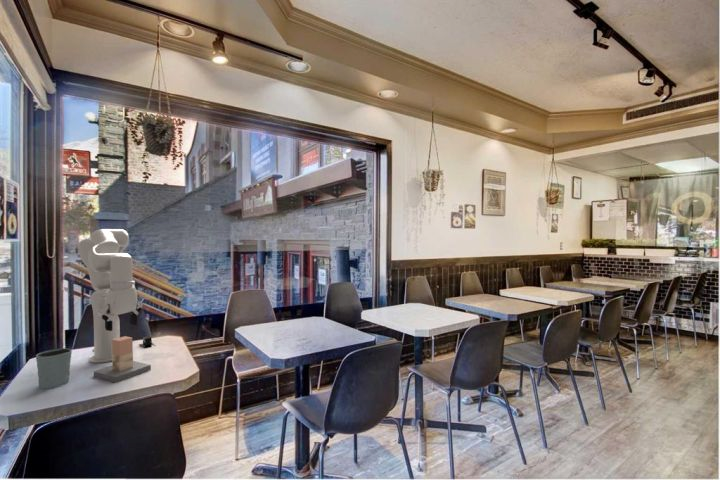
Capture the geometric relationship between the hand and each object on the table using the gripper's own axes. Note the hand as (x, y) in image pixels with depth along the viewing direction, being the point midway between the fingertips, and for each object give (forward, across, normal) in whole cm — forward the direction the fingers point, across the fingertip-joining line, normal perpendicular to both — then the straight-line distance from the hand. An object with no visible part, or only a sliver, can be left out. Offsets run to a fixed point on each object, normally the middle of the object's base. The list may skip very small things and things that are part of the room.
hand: (121, 327), depth 143 cm
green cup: (+19, +18, -12) cm, 28 cm away
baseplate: (+18, 0, +1) cm, 18 cm away
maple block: (+16, 0, +1) cm, 16 cm away
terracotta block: (+10, 0, +1) cm, 10 cm away
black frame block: (+20, -28, -24) cm, 42 cm away
